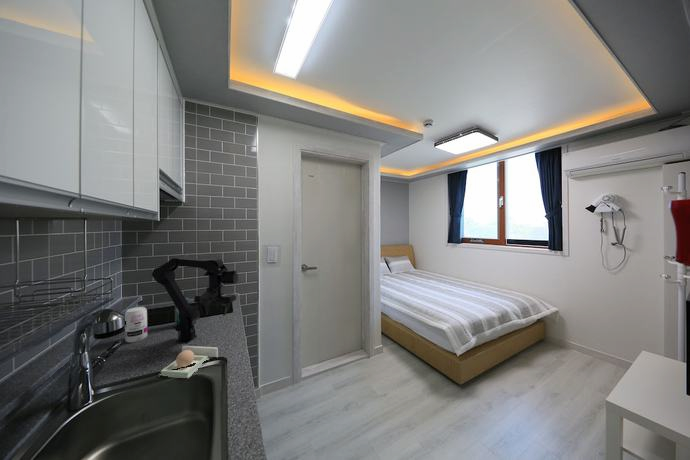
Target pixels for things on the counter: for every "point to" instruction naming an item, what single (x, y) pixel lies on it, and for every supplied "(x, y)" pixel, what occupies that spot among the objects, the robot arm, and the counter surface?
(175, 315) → the can
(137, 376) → the counter surface
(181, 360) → the ball
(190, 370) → the sage mat
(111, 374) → the counter surface
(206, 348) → the low wall
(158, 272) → the robot arm
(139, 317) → the supplement can
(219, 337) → the counter surface
